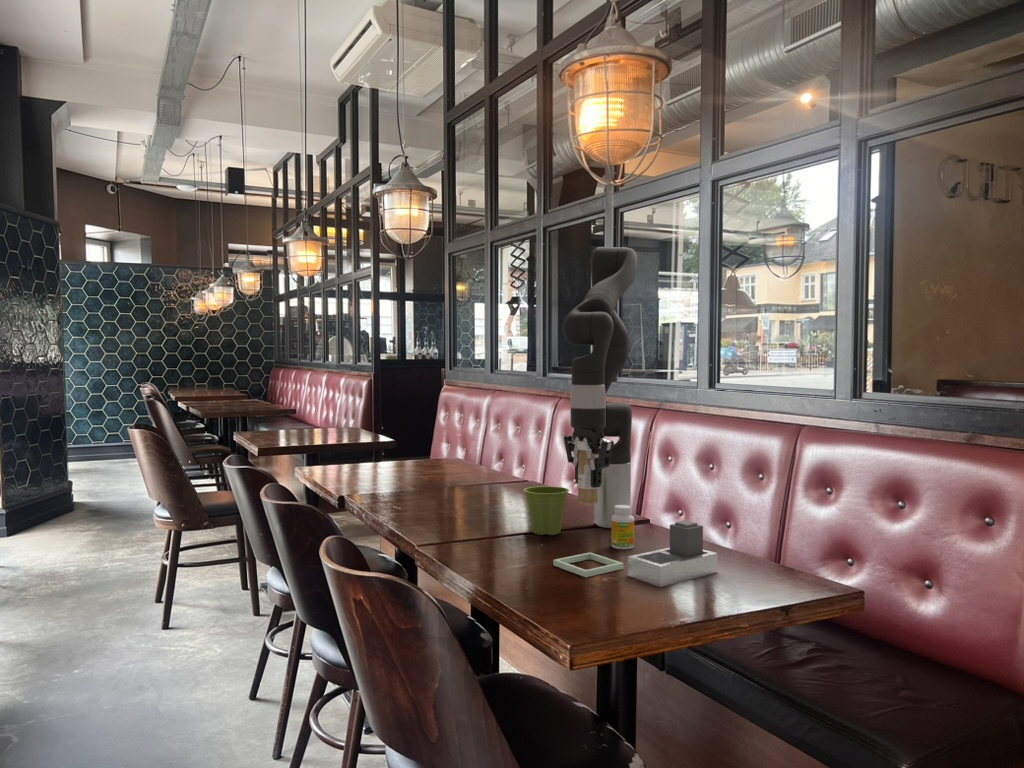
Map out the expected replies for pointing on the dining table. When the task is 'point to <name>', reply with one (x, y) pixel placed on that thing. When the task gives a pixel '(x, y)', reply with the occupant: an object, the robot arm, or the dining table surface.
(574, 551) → the dining table surface
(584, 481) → the sprinkles bottle
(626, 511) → the supplement bottle
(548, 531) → the plant pot
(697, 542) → the grey stepped square plug
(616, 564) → the tray frame
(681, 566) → the divided grey caddy
